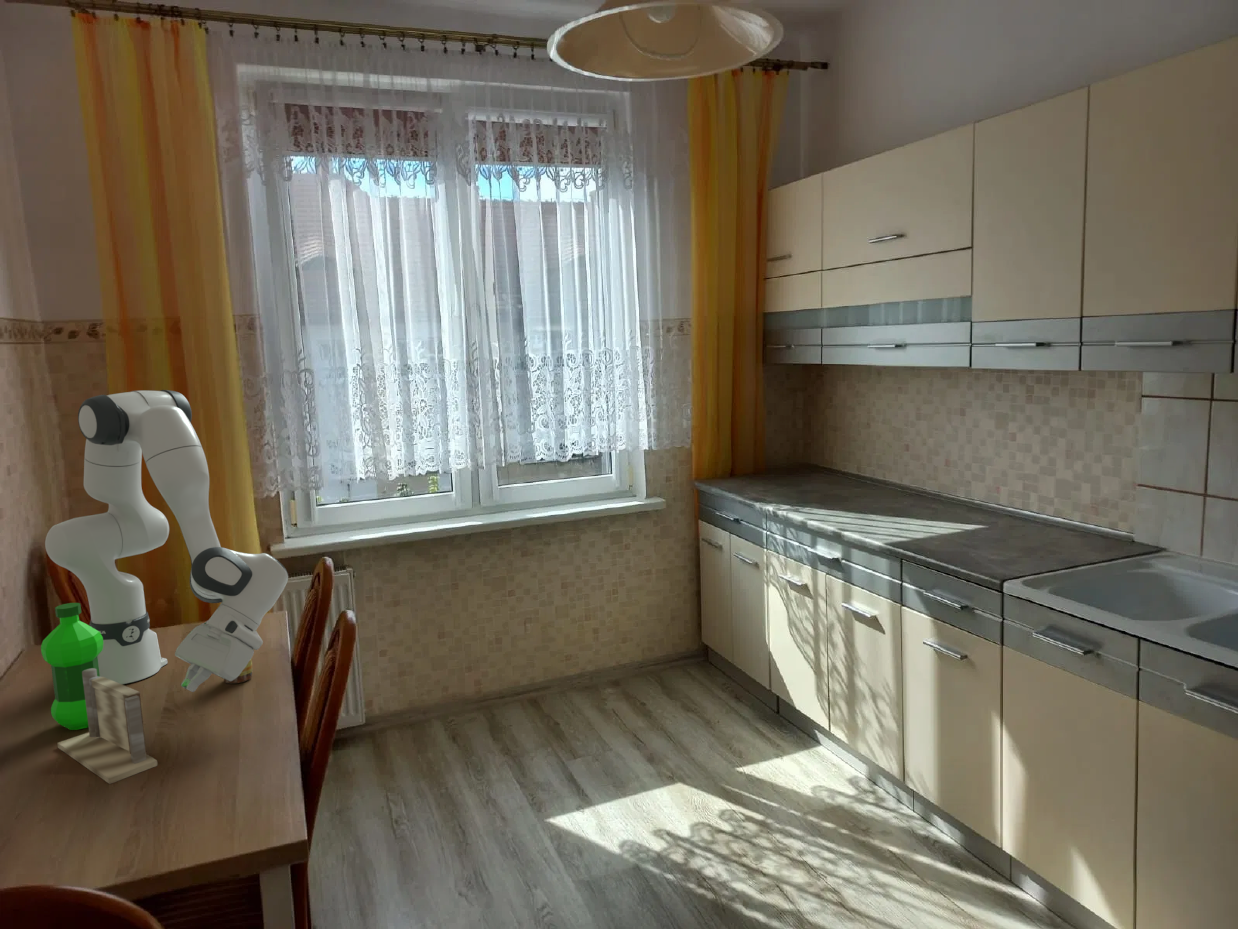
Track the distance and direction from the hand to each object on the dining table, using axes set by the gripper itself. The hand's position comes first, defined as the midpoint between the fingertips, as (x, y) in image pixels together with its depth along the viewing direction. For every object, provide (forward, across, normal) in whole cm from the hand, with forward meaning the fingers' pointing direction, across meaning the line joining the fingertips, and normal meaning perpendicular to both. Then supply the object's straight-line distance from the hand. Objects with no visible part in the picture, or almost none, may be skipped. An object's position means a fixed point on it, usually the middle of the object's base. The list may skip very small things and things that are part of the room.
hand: (186, 689), depth 166 cm
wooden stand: (+16, -2, -4) cm, 17 cm away
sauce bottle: (-7, -18, +20) cm, 28 cm away
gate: (+14, -2, -4) cm, 14 cm away
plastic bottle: (+14, -22, -2) cm, 27 cm away
